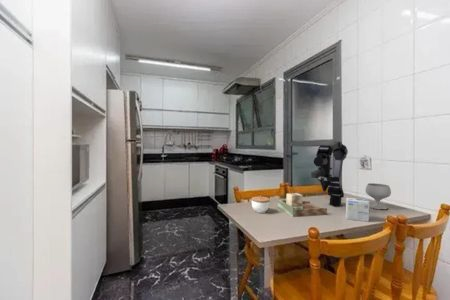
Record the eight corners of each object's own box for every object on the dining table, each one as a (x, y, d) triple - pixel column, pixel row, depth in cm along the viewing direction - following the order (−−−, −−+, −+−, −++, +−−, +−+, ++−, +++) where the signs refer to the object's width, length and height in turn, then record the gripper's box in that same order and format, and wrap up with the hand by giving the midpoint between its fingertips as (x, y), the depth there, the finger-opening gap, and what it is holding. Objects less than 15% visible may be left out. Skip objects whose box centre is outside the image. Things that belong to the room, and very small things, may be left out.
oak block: (296, 206, 145) (296, 193, 145) (302, 208, 139) (302, 195, 139) (286, 206, 143) (286, 193, 143) (291, 209, 137) (291, 195, 137)
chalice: (375, 204, 164) (376, 182, 163) (395, 209, 151) (396, 186, 150) (359, 205, 159) (360, 183, 159) (379, 211, 146) (380, 187, 146)
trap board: (308, 206, 154) (309, 198, 154) (326, 214, 137) (327, 205, 137) (277, 208, 148) (277, 200, 148) (292, 216, 131) (292, 207, 131)
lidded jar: (273, 211, 140) (273, 195, 140) (262, 215, 132) (263, 198, 132) (258, 208, 148) (258, 193, 147) (247, 211, 140) (247, 195, 139)
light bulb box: (366, 218, 131) (367, 199, 131) (369, 222, 125) (370, 201, 125) (344, 216, 135) (345, 197, 135) (346, 219, 129) (347, 199, 128)
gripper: (304, 164, 150) (303, 188, 151) (324, 167, 132) (323, 195, 133) (319, 164, 153) (318, 188, 154) (340, 167, 135) (339, 194, 136)
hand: (324, 191), depth 144 cm, fingers closed
